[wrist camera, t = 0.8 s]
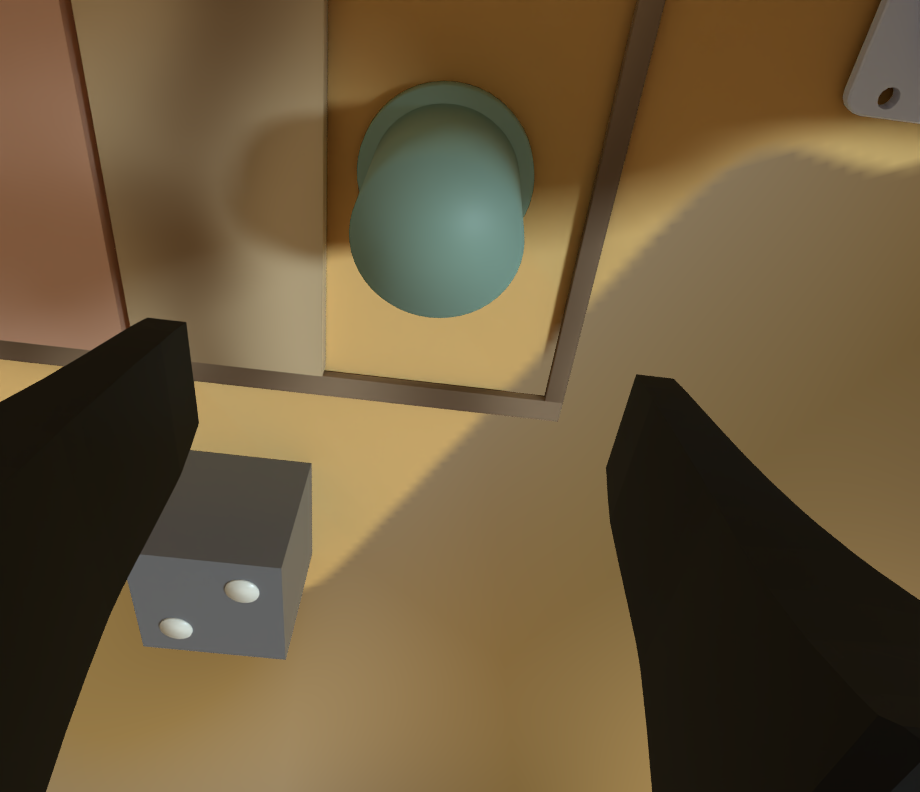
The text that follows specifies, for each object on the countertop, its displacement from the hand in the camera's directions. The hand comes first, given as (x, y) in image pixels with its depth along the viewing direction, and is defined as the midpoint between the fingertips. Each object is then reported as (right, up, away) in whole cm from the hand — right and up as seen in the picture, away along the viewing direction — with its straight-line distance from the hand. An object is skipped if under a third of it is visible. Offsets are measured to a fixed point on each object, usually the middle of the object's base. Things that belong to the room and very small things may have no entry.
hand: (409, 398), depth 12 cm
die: (-7, -4, +17) cm, 19 cm away
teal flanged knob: (0, +6, +8) cm, 11 cm away
